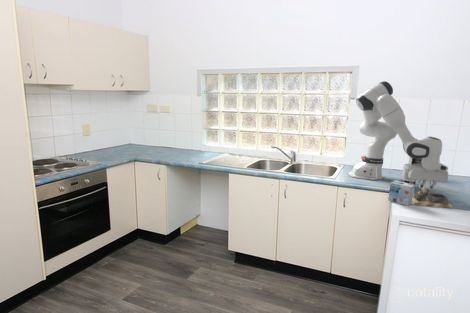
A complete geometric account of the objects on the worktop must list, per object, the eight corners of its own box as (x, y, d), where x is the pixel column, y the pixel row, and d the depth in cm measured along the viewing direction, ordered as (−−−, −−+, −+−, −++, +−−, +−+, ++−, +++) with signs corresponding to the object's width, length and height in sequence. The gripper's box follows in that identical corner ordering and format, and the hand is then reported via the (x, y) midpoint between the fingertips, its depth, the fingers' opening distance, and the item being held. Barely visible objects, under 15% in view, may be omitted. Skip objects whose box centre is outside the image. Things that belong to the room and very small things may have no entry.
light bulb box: (387, 200, 178) (390, 182, 176) (392, 197, 183) (394, 179, 180) (408, 206, 171) (411, 187, 168) (412, 203, 175) (415, 184, 173)
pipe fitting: (421, 196, 186) (424, 180, 184) (418, 194, 191) (421, 178, 188) (429, 197, 186) (432, 181, 183) (426, 195, 190) (429, 179, 188)
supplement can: (397, 186, 205) (400, 163, 201) (406, 185, 207) (410, 163, 204) (407, 190, 197) (411, 167, 194) (417, 189, 200) (421, 166, 197)
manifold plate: (415, 205, 173) (417, 194, 171) (407, 197, 184) (409, 187, 183) (451, 208, 170) (453, 197, 168) (441, 200, 181) (443, 190, 180)
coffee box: (409, 177, 227) (412, 155, 224) (406, 174, 233) (409, 153, 230) (423, 178, 226) (426, 156, 222) (419, 176, 232) (423, 154, 228)
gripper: (412, 164, 183) (408, 187, 186) (451, 167, 179) (446, 191, 182) (408, 162, 189) (405, 184, 192) (446, 165, 185) (442, 187, 188)
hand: (425, 187), depth 187 cm, fingers open, 5 cm apart
